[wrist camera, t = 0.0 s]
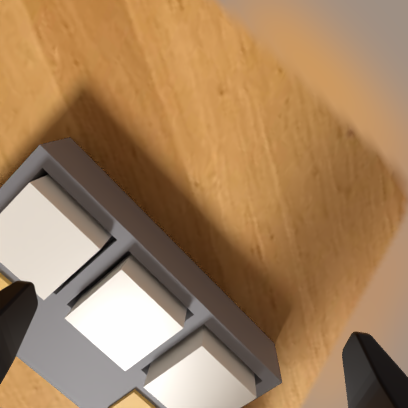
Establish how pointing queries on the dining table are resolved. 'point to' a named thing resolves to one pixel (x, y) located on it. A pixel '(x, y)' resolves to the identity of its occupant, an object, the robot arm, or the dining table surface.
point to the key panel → (101, 265)
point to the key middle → (128, 313)
